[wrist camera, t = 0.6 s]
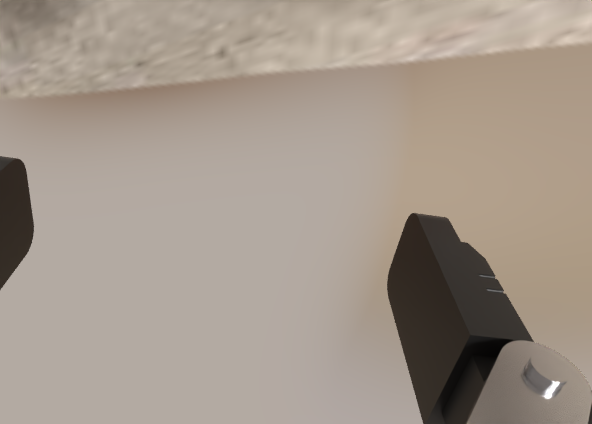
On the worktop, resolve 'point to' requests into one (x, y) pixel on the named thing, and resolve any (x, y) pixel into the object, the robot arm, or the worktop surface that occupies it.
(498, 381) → the robot arm
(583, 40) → the worktop surface
